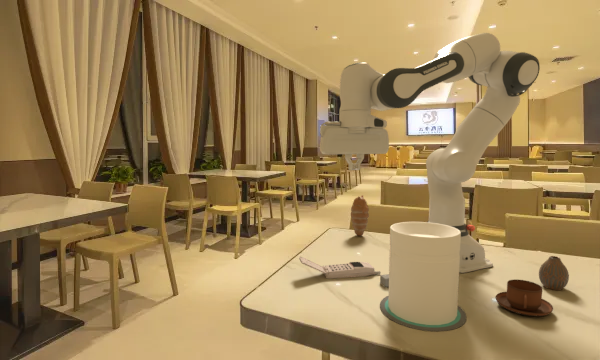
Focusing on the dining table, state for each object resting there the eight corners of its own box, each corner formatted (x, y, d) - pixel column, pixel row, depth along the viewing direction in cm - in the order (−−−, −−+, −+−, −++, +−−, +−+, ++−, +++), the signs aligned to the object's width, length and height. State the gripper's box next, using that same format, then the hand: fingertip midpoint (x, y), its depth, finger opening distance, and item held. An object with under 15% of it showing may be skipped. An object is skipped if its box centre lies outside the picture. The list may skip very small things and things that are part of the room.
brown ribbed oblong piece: (364, 239, 152) (365, 197, 150) (347, 236, 156) (347, 196, 154) (371, 234, 159) (372, 195, 157) (354, 232, 163) (355, 193, 161)
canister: (395, 290, 98) (397, 219, 96) (458, 302, 91) (462, 225, 89) (381, 315, 84) (383, 232, 82) (455, 331, 77) (459, 241, 74)
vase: (559, 294, 96) (561, 262, 95) (532, 285, 102) (534, 255, 101) (572, 289, 99) (575, 258, 98) (546, 280, 105) (548, 252, 104)
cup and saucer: (563, 323, 81) (565, 297, 80) (506, 319, 83) (508, 293, 82) (537, 300, 93) (538, 277, 92) (488, 297, 95) (489, 274, 94)
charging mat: (416, 279, 107) (416, 271, 107) (486, 324, 80) (486, 314, 80) (354, 285, 102) (354, 277, 102) (406, 336, 75) (407, 325, 75)
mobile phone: (298, 256, 111) (374, 251, 115) (298, 274, 112) (374, 269, 116) (301, 263, 105) (381, 257, 109) (302, 282, 106) (381, 276, 110)
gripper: (323, 120, 96) (323, 171, 97) (392, 121, 101) (391, 169, 102) (316, 121, 102) (316, 169, 103) (381, 122, 107) (380, 168, 108)
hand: (354, 169), depth 103 cm, fingers closed
